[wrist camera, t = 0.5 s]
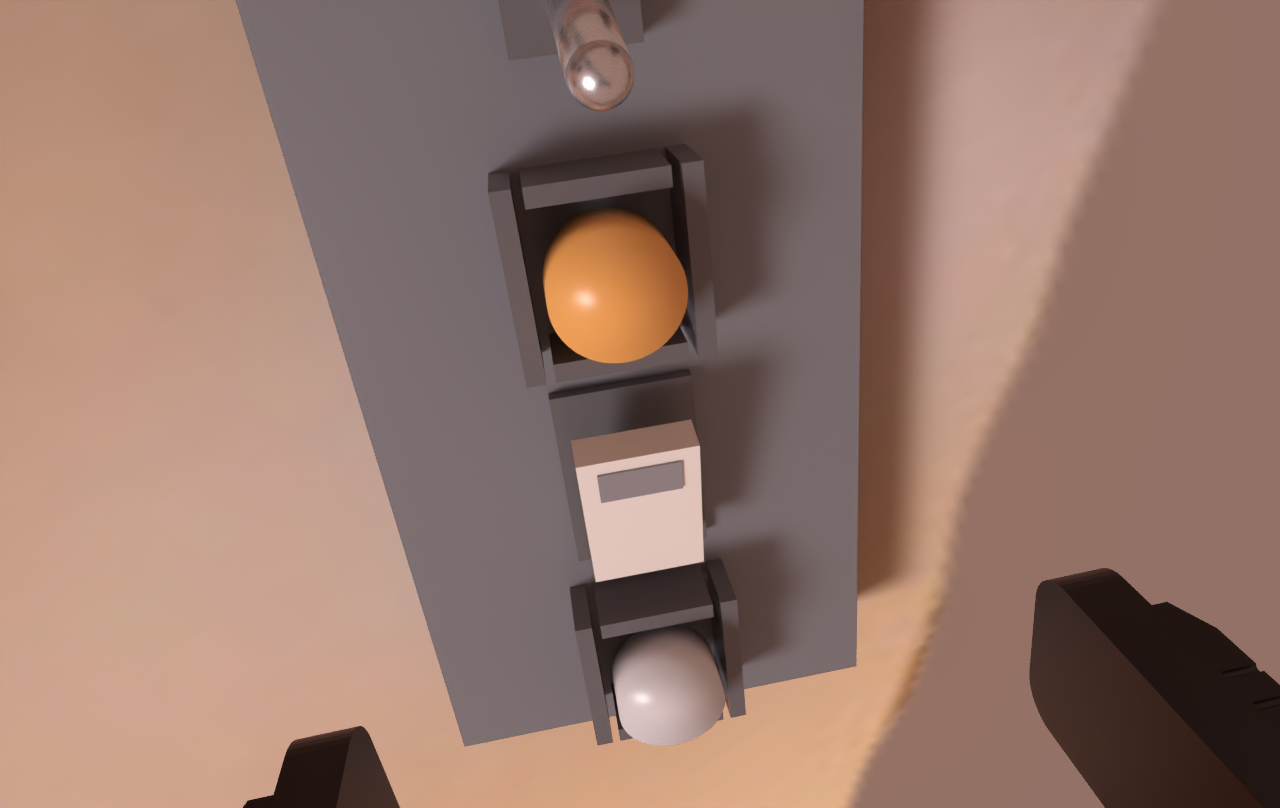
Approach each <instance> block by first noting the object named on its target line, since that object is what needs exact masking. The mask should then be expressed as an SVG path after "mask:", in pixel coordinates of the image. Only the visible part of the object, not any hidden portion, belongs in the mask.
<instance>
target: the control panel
mask: <svg viewBox="0 0 1280 808" xmlns="http://www.w3.org/2000/svg"><path fill="white" fill-rule="evenodd" d="M609 2H610V5H611V7H612V10H613V12H614V15H615V18H616V20H617V23H618V25H619V28H620V31H621V33H622V36H623V38H624V41H625V43H626V46H627V49H628V51H629V54H630V56H631V59H632V62H633V65H634V72H635V77H634V83H633V87H632V90H631V92H630V94H629V96H628V97H627V98H626V100H625V101H624V102H623V103H621V104H620V105H619V106H617V107H616V108H613V109H611V110H607V111H593V110H590V109H587V108H585V107H583V106H582V105H580V104H579V103H578V102H577V101H576V100H575V99H574V98H573V96H572V95H571V93H570V91H569V89H568V87H567V84H566V81H565V77H564V73H563V69H562V66H561V62H560V58H559V54H558V50H557V47H556V43H555V39H554V35H553V32H552V28H551V24H550V20H549V16H548V13H547V9H546V5H545V1H544V0H236V3H237V6H238V9H239V13H240V16H241V19H242V23H243V26H244V29H245V32H246V36H247V39H248V42H249V45H250V49H251V52H252V55H253V58H254V62H255V65H256V68H257V71H258V75H259V78H260V81H261V84H262V88H263V91H264V94H265V97H266V101H267V104H268V107H269V110H270V114H271V117H272V120H273V124H274V127H275V130H276V133H277V137H278V140H279V143H280V146H281V150H282V153H283V156H284V159H285V163H286V166H287V169H288V172H289V176H290V179H291V182H292V185H293V189H294V192H295V195H296V198H297V202H298V205H299V208H300V212H301V215H302V218H303V221H304V225H305V228H306V231H307V234H308V238H309V241H310V244H311V247H312V251H313V254H314V257H315V260H316V264H317V267H318V270H319V273H320V277H321V280H322V283H323V286H324V290H325V293H326V296H327V299H328V303H329V306H330V309H331V313H332V316H333V319H334V322H335V326H336V329H337V332H338V335H339V339H340V342H341V345H342V348H343V352H344V355H345V358H346V361H347V365H348V368H349V371H350V374H351V378H352V381H353V384H354V387H355V391H356V394H357V397H358V400H359V404H360V407H361V410H362V414H363V417H364V420H365V423H366V427H367V430H368V433H369V436H370V440H371V443H372V446H373V449H374V453H375V456H376V459H377V462H378V466H379V469H380V472H381V475H382V479H383V482H384V485H385V488H386V492H387V495H388V498H389V501H390V505H391V508H392V511H393V515H394V518H395V521H396V524H397V528H398V531H399V534H400V537H401V541H402V544H403V547H404V550H405V554H406V557H407V560H408V563H409V567H410V570H411V573H412V576H413V580H414V583H415V586H416V589H417V593H418V596H419V599H420V603H421V606H422V609H423V612H424V616H425V619H426V622H427V625H428V629H429V632H430V635H431V638H432V642H433V645H434V648H435V651H436V655H437V658H438V661H439V664H440V668H441V671H442V674H443V677H444V681H445V684H446V687H447V690H448V694H449V697H450V700H451V704H452V707H453V710H454V713H455V717H456V720H457V723H458V726H459V730H460V733H461V736H462V739H463V743H464V746H470V745H475V744H480V743H484V742H489V741H494V740H499V739H504V738H509V737H514V736H519V735H523V734H528V733H533V732H538V731H543V730H548V729H553V728H557V727H562V726H567V725H572V724H577V723H582V722H587V721H592V720H593V725H594V730H595V735H596V740H597V745H602V744H607V743H612V742H613V739H612V733H611V727H610V720H609V717H611V716H616V717H617V723H618V729H619V734H620V740H626V739H631V738H633V737H631V736H630V735H629V734H628V733H627V732H626V731H625V729H624V728H623V726H622V724H621V721H620V717H619V712H618V706H617V700H616V694H615V688H614V682H613V677H612V662H613V658H614V656H615V653H616V652H617V650H618V649H619V647H620V646H621V645H622V644H623V643H624V642H625V641H626V640H627V639H628V638H630V637H631V636H632V635H634V634H635V633H637V632H641V631H646V630H651V629H656V628H661V627H666V626H671V625H682V626H686V627H689V628H691V629H694V630H695V631H697V632H699V633H700V634H701V635H702V636H703V637H704V638H705V639H706V640H707V642H708V644H709V646H710V649H711V652H712V655H713V658H714V661H715V664H716V667H717V670H718V674H719V677H720V680H721V683H722V686H723V689H724V693H725V701H726V704H727V707H728V710H729V713H730V717H731V718H732V717H737V716H742V715H746V711H745V698H744V689H747V688H752V687H757V686H762V685H767V684H772V683H776V682H781V681H786V680H791V679H796V678H801V677H806V676H811V675H815V674H820V673H825V672H830V671H835V670H840V669H845V668H849V667H854V666H856V649H857V558H858V468H859V377H860V286H861V196H862V105H863V15H864V0H609ZM606 207H614V208H622V209H627V210H630V211H633V212H636V213H638V214H640V215H642V216H643V217H645V218H646V219H648V220H649V221H651V222H652V223H653V224H654V225H655V226H656V227H657V228H658V229H659V230H660V232H661V233H662V234H663V236H664V237H665V239H666V241H667V242H668V244H669V245H670V247H671V248H672V250H673V252H674V253H675V255H676V256H677V258H678V259H679V261H680V263H681V265H682V267H683V269H684V272H685V275H686V279H687V285H688V300H687V307H686V311H685V314H684V317H683V319H682V322H681V323H680V325H679V327H678V329H677V330H676V332H675V333H674V334H673V336H672V337H671V338H670V339H669V340H668V341H667V342H666V343H665V344H664V345H663V346H662V347H660V348H659V349H658V350H656V351H655V352H653V353H651V354H649V355H647V356H645V357H643V358H641V359H638V360H635V361H631V362H626V363H603V362H598V361H594V360H591V359H588V358H586V357H583V356H581V355H580V354H578V353H576V352H575V351H573V350H572V349H571V348H569V347H568V346H567V345H566V344H565V343H564V342H563V341H562V340H561V338H560V337H559V336H558V334H557V333H556V331H555V329H554V328H553V326H552V323H551V321H550V318H549V314H548V310H547V304H546V298H545V292H544V286H543V278H542V266H543V261H544V256H545V253H546V250H547V248H548V246H549V244H550V242H551V240H552V239H553V237H554V235H555V234H556V233H557V232H558V231H559V229H560V228H561V227H562V226H563V225H565V224H566V223H567V222H568V221H570V220H571V219H572V218H574V217H576V216H578V215H579V214H581V213H584V212H587V211H589V210H593V209H597V208H606ZM685 420H692V423H693V426H694V429H695V432H696V435H697V438H698V441H699V444H700V462H701V491H702V520H703V549H704V562H699V563H694V564H689V565H684V566H679V567H673V568H668V569H663V570H658V571H652V572H647V573H642V574H637V575H632V576H626V577H621V578H616V579H611V580H606V581H600V582H596V580H595V575H594V569H593V564H592V558H591V552H590V547H589V541H588V536H587V530H586V524H585V519H584V513H583V507H582V502H581V496H580V491H579V485H578V479H577V474H576V468H575V462H574V457H573V451H572V445H571V441H572V440H578V439H583V438H589V437H595V436H600V435H606V434H612V433H617V432H623V431H629V430H634V429H640V428H646V427H651V426H657V425H662V424H668V423H674V422H679V421H685ZM722 719H723V712H722V714H721V716H720V718H719V719H718V720H722ZM718 720H717V721H718Z"/></svg>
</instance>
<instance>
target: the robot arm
mask: <svg viewBox="0 0 1280 808" xmlns="http://www.w3.org/2000/svg"><path fill="white" fill-rule="evenodd" d="M1030 661H1031V662H1030V686H1031V691H1032V695H1033V698H1034V701H1035V704H1036V707H1037V709H1038V711H1039V713H1040V716H1041V718H1042V720H1043V721H1044V723H1045V725H1046V726H1047V728H1048V730H1049V731H1050V732H1051V734H1052V735H1053V737H1054V738H1055V739H1056V741H1057V742H1058V743H1059V745H1060V746H1061V747H1062V749H1063V750H1064V752H1065V753H1066V754H1067V756H1068V757H1069V758H1070V760H1071V761H1072V763H1073V764H1074V765H1075V767H1076V768H1077V769H1078V771H1079V772H1080V774H1081V775H1082V776H1083V778H1084V779H1085V781H1086V782H1087V783H1088V785H1089V786H1090V788H1091V789H1092V790H1093V791H1094V793H1095V794H1096V796H1097V797H1098V799H1099V800H1100V801H1101V803H1102V804H1103V805H1104V807H1105V808H1280V685H1279V684H1278V683H1277V682H1276V681H1275V680H1274V679H1272V678H1271V677H1270V676H1269V675H1268V674H1267V673H1266V672H1265V671H1262V672H1260V671H1259V670H1258V669H1257V667H1256V663H1255V662H1254V661H1253V660H1251V659H1250V658H1249V657H1248V656H1247V655H1246V654H1245V653H1244V652H1243V651H1241V650H1240V649H1239V648H1238V647H1237V646H1236V645H1235V644H1234V643H1233V642H1231V640H1229V639H1228V638H1227V637H1226V636H1225V635H1224V634H1223V633H1221V631H1219V630H1218V629H1217V628H1216V627H1213V626H1212V625H1210V624H1208V623H1206V622H1204V621H1202V620H1200V619H1198V618H1197V617H1195V616H1193V615H1191V614H1189V613H1187V612H1185V611H1183V610H1181V609H1179V608H1177V607H1176V606H1174V605H1172V604H1170V603H1168V602H1164V603H1160V604H1156V605H1151V604H1150V603H1149V602H1148V601H1147V600H1146V599H1144V597H1142V596H1141V595H1140V594H1139V593H1138V592H1137V591H1136V590H1135V589H1134V588H1133V587H1132V586H1131V585H1130V584H1129V583H1128V582H1127V581H1126V580H1125V579H1124V578H1123V577H1122V576H1120V575H1119V574H1118V573H1117V572H1115V571H1113V570H1111V569H1108V568H1101V569H1097V570H1092V571H1087V572H1083V573H1078V574H1073V575H1069V576H1064V577H1060V578H1055V579H1050V580H1046V581H1043V582H1042V583H1040V585H1039V586H1038V589H1037V592H1036V601H1035V612H1034V624H1033V636H1032V648H1031V660H1030ZM243 808H400V807H399V804H398V802H397V800H396V797H395V795H394V793H393V790H392V788H391V785H390V783H389V781H388V778H387V776H386V773H385V771H384V769H383V766H382V764H381V761H380V759H379V757H378V754H377V752H376V750H375V747H374V745H373V742H372V740H371V738H370V736H369V734H368V732H367V731H366V729H365V728H364V727H362V726H358V727H353V728H349V729H344V730H339V731H335V732H330V733H325V734H321V735H316V736H312V737H307V738H302V739H298V740H295V741H293V742H292V743H291V744H290V746H289V748H288V749H287V752H286V755H285V758H284V761H283V765H282V768H281V771H280V775H279V778H278V782H277V785H276V789H275V792H274V795H271V796H267V797H262V798H258V799H253V800H249V801H247V803H246V804H245V805H244V807H243Z"/></svg>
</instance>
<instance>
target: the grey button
mask: <svg viewBox="0 0 1280 808" xmlns="http://www.w3.org/2000/svg"><path fill="white" fill-rule="evenodd" d="M612 677H613V682H614V688H615V694H616V700H617V706H618V712H619V717H620V721H621V724H622V726H623V728H624V729H625V731H626V732H627V733H628V734H629V735H630V736H631V737H633V738H634V739H636V740H638V741H640V742H643V743H645V744H650V745H656V746H670V745H676V744H681V743H685V742H687V741H690V740H692V739H695V738H697V737H699V736H700V735H702V734H703V733H705V732H706V731H708V730H709V729H710V728H711V727H712V726H713V725H714V724H715V723H716V722H717V720H718V719H719V718H720V716H721V714H722V712H723V709H724V706H725V693H724V689H723V686H722V683H721V680H720V677H719V674H718V670H717V667H716V664H715V661H714V658H713V655H712V652H711V649H710V646H709V644H708V642H707V640H706V639H705V638H704V637H703V636H702V635H701V634H700V633H699V632H697V631H695V630H694V629H691V628H689V627H686V626H682V625H671V626H666V627H661V628H656V629H651V630H646V631H641V632H637V633H635V634H634V635H632V636H631V637H630V638H628V639H627V640H626V641H625V642H624V643H623V644H622V645H621V646H620V647H619V649H618V650H617V652H616V653H615V656H614V658H613V662H612Z"/></svg>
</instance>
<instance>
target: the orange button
mask: <svg viewBox="0 0 1280 808" xmlns="http://www.w3.org/2000/svg"><path fill="white" fill-rule="evenodd" d="M542 278H543V286H544V292H545V298H546V304H547V310H548V314H549V318H550V321H551V323H552V326H553V328H554V329H555V331H556V333H557V334H558V336H559V337H560V338H561V340H562V341H563V342H564V343H565V344H566V345H567V346H568V347H569V348H571V349H572V350H573V351H575V352H576V353H578V354H580V355H581V356H583V357H586V358H588V359H591V360H594V361H598V362H603V363H626V362H631V361H635V360H638V359H641V358H643V357H645V356H647V355H649V354H651V353H653V352H655V351H656V350H658V349H659V348H660V347H662V346H663V345H664V344H665V343H666V342H667V341H668V340H669V339H670V338H671V337H672V336H673V334H674V333H675V332H676V330H677V329H678V327H679V325H680V323H681V322H682V319H683V317H684V314H685V311H686V307H687V300H688V285H687V279H686V275H685V272H684V269H683V267H682V265H681V263H680V261H679V259H678V258H677V256H676V255H675V253H674V252H673V250H672V248H671V247H670V245H669V244H668V242H667V241H666V239H665V237H664V236H663V234H662V233H661V232H660V230H659V229H658V228H657V227H656V226H655V225H654V224H653V223H652V222H651V221H649V220H648V219H646V218H645V217H643V216H642V215H640V214H638V213H636V212H633V211H630V210H627V209H622V208H614V207H606V208H597V209H593V210H589V211H587V212H584V213H581V214H579V215H578V216H576V217H574V218H572V219H571V220H570V221H568V222H567V223H566V224H565V225H563V226H562V227H561V228H560V229H559V231H558V232H557V233H556V234H555V235H554V237H553V239H552V240H551V242H550V244H549V246H548V248H547V250H546V253H545V256H544V261H543V266H542Z"/></svg>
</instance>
